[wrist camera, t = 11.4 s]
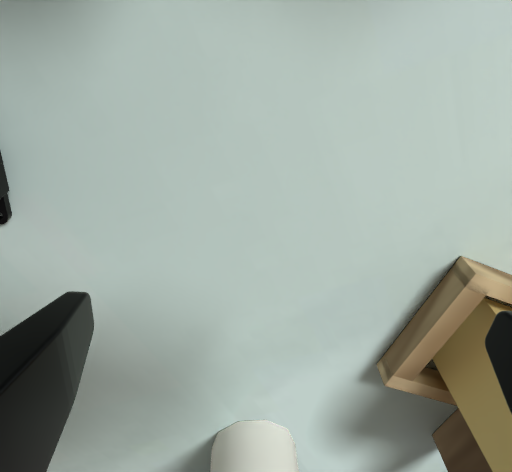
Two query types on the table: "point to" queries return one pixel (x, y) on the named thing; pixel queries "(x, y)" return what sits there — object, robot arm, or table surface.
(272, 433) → the fire extinguisher
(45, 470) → the robot arm
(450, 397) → the wall board
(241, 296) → the table surface
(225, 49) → the table surface
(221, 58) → the table surface
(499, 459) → the grey-topped square block
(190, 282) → the table surface
